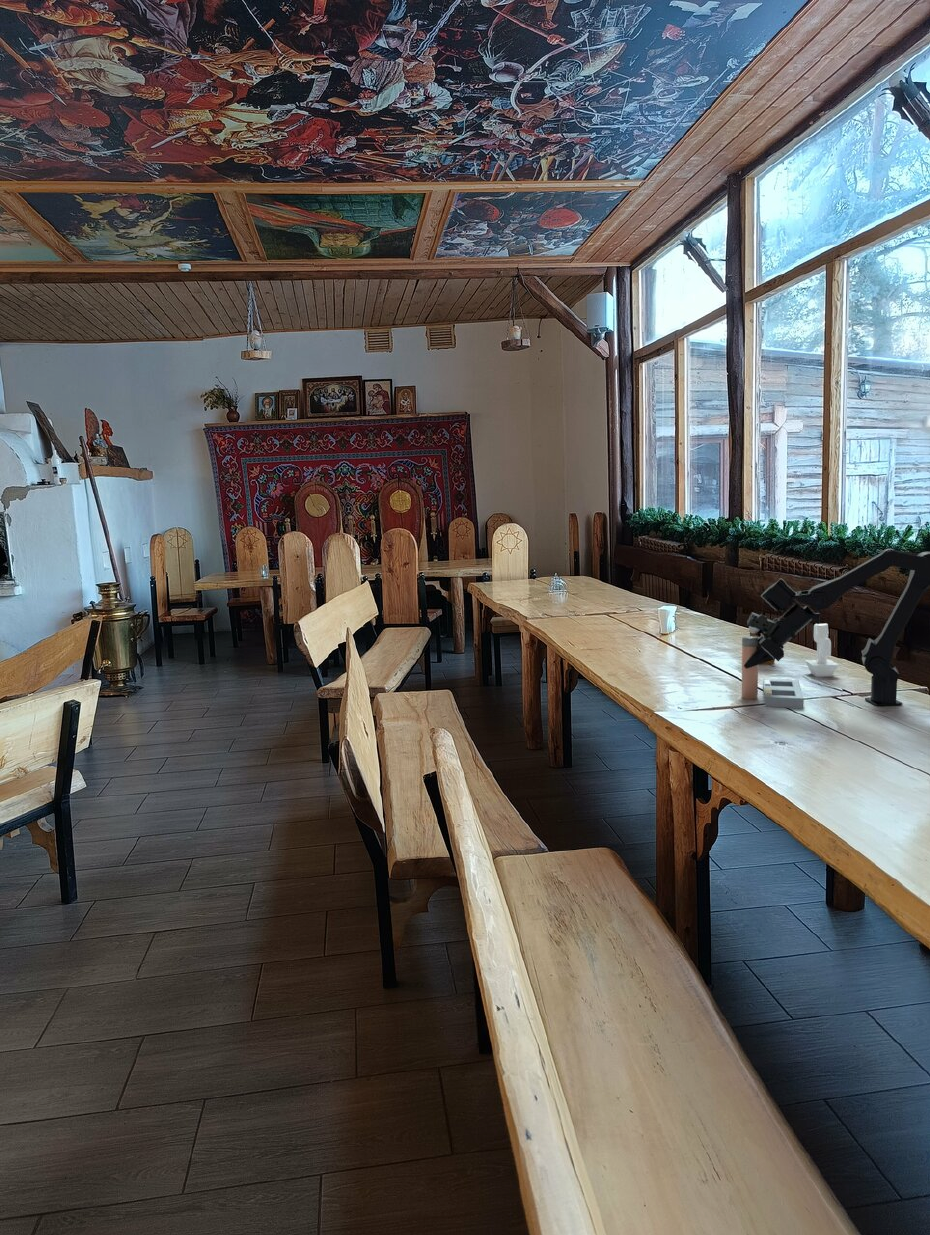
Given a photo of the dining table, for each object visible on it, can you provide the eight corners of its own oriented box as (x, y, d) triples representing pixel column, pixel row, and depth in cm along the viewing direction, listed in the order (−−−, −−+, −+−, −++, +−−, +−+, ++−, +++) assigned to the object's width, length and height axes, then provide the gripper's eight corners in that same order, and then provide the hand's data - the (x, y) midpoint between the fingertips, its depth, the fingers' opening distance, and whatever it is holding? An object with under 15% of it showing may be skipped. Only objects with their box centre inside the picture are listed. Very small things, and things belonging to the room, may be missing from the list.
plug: (759, 698, 209) (760, 638, 207) (744, 699, 209) (745, 639, 207) (754, 695, 213) (755, 636, 211) (739, 695, 213) (740, 636, 211)
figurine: (813, 678, 228) (814, 626, 226) (803, 671, 238) (804, 621, 235) (840, 678, 227) (841, 626, 225) (828, 671, 237) (830, 620, 234)
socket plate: (803, 708, 199) (803, 696, 198) (764, 706, 202) (765, 695, 201) (798, 689, 218) (798, 678, 217) (763, 687, 221) (763, 677, 220)
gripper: (763, 597, 215) (720, 637, 220) (770, 607, 198) (723, 651, 202) (794, 626, 215) (750, 666, 219) (804, 638, 197) (756, 681, 201)
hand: (744, 665), depth 210 cm, fingers closed on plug, 4 cm apart
